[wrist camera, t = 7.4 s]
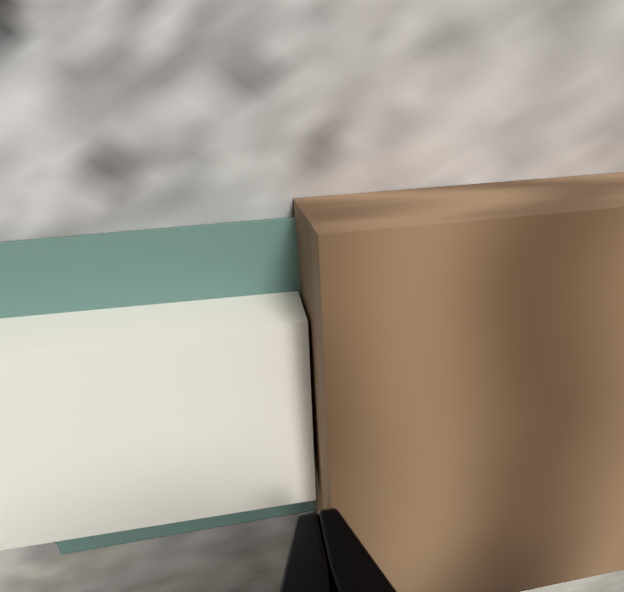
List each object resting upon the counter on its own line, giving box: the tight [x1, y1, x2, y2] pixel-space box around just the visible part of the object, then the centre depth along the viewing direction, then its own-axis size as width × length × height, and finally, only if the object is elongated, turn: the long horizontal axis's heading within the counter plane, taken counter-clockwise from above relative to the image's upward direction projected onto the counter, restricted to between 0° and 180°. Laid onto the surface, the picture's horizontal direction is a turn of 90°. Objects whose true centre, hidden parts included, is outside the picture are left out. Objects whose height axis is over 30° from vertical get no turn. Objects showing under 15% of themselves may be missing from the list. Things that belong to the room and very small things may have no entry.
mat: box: [0, 217, 316, 554], centre depth 12 cm, size 9×11×1 cm
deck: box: [293, 172, 624, 592], centre depth 12 cm, size 11×12×4 cm
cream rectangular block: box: [0, 291, 316, 551], centre depth 11 cm, size 9×6×2 cm, turn 92°
